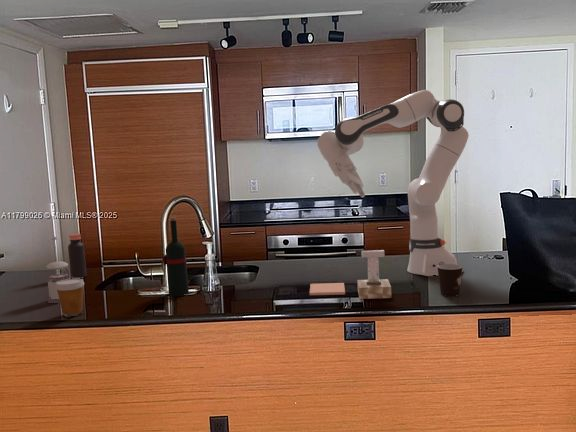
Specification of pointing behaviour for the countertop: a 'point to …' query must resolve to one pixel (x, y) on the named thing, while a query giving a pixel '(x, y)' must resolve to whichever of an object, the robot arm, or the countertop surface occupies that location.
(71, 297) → the glass of amber beer
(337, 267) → the countertop surface
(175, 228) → the wine bottle
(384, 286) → the socket block
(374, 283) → the t key
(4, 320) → the countertop surface
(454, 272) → the coffee mug
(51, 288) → the french press
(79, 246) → the vinegar
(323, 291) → the tile
